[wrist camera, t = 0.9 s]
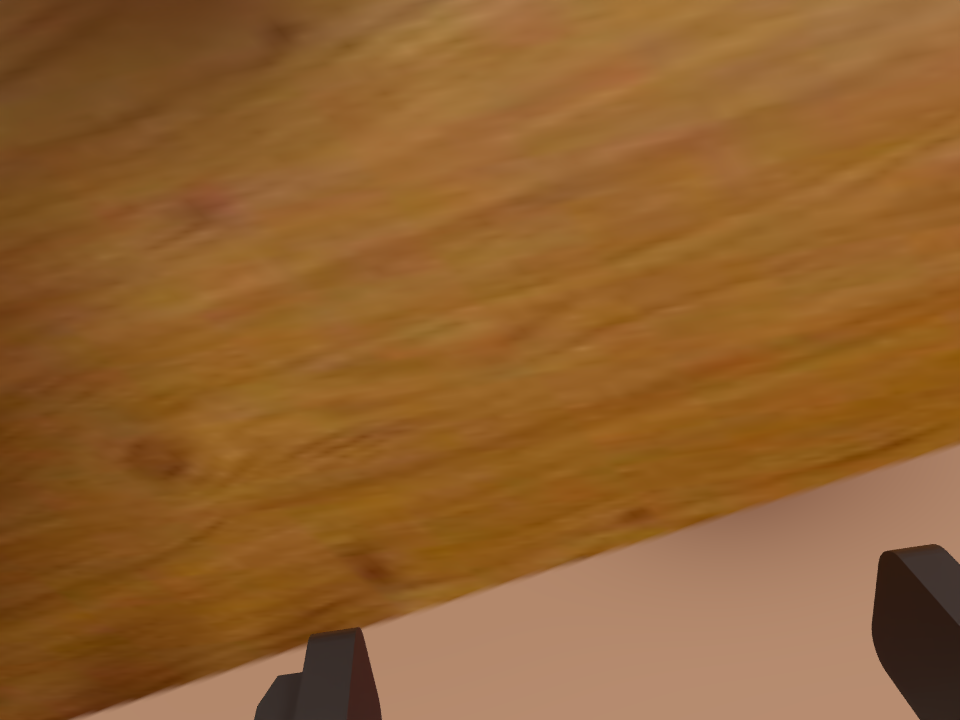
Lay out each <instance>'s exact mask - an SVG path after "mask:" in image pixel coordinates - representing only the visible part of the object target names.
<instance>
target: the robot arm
mask: <svg viewBox="0 0 960 720" xmlns="http://www.w3.org/2000/svg"><path fill="white" fill-rule="evenodd" d="M872 637H873V642H874V646H875V650H876V653H877V655H878V657H879V660H880V662H881V664H882V666H883V668H884V669H885V671H886V672H887V674H888V675H889V677H890V678H891V679H892V681H893V682H894V684H895V685H896V687H897V688H898V689H899V691H900V692H901V694H902V695H903V696H904V698H905V699H906V701H907V702H908V704H909V705H910V706H911V707H912V709H913V710H914V712H915V713H916V715H917V716H918V718H919V719H920V720H960V564H959V563H958V562H957V561H956V560H955V559H954V558H953V557H952V556H951V555H950V554H949V553H948V552H947V551H946V550H945V549H944V548H942V547H941V546H939V545H936V544H931V545H924V546H917V547H910V548H903V549H897V550H890V551H885V552H883V553H882V555H881V556H880V559H879V564H878V573H877V582H876V591H875V600H874V609H873V618H872ZM254 720H382V718H381V709H380V703H379V698H378V693H377V689H376V685H375V681H374V677H373V673H372V669H371V665H370V661H369V657H368V652H367V648H366V645H365V641H364V637H363V633H362V631H361V629H360V628H359V627H357V628H350V629H344V630H337V631H330V632H323V633H317V634H312V635H311V636H310V637H309V640H308V645H307V650H306V656H305V662H304V668H303V672H300V673H294V674H287V675H280V676H277V678H276V679H275V681H274V682H273V684H272V685H271V687H270V688H269V690H268V691H267V693H266V694H265V696H264V697H263V699H262V700H261V702H260V703H259V705H258V706H257V710H256V714H255V719H254Z"/></svg>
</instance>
